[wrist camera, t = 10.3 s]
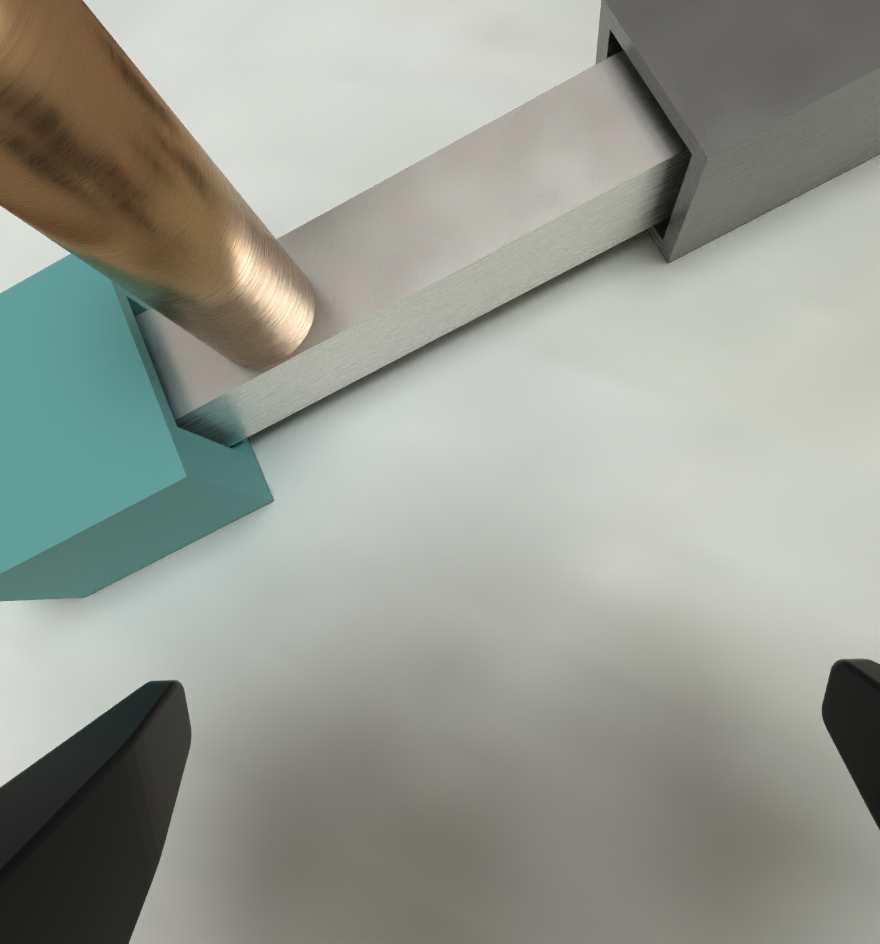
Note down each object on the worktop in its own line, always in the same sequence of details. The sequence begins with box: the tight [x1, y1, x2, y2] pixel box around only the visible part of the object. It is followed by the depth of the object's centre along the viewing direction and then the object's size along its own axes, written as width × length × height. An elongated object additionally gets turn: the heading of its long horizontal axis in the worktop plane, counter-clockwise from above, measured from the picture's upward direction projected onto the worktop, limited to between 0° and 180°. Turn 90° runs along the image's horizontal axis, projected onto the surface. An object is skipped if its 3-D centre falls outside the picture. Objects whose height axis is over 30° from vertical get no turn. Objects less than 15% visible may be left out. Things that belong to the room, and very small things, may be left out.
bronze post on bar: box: [0, 0, 692, 447], centre depth 13 cm, size 22×3×13 cm, turn 116°
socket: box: [0, 254, 274, 601], centre depth 19 cm, size 7×7×5 cm
